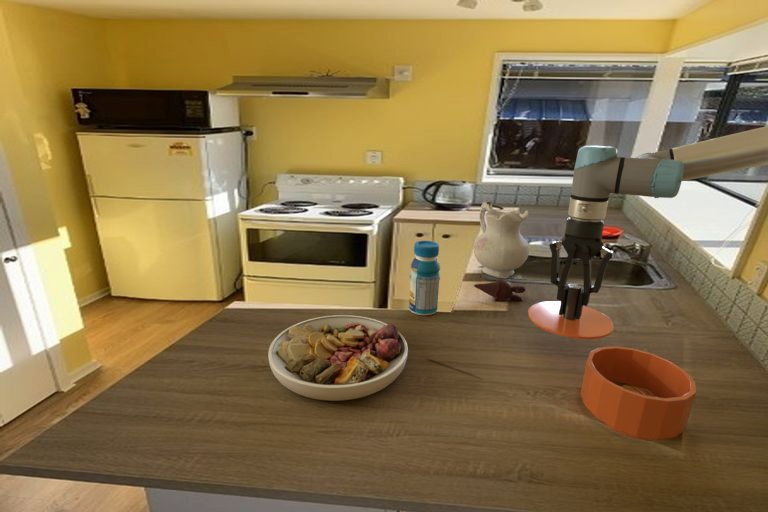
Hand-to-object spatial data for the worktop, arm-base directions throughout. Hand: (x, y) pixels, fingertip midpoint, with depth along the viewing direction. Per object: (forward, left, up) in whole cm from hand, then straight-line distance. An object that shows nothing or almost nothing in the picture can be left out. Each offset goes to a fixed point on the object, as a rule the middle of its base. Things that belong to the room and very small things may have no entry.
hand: (570, 314), depth 101 cm
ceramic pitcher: (+33, -43, -9) cm, 55 cm away
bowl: (+39, +38, -9) cm, 55 cm away
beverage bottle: (+38, +2, -9) cm, 39 cm away
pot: (-16, +16, -9) cm, 24 cm away
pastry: (-16, +16, -9) cm, 24 cm away
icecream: (+23, -18, -9) cm, 31 cm away
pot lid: (0, 0, -1) cm, 1 cm away
